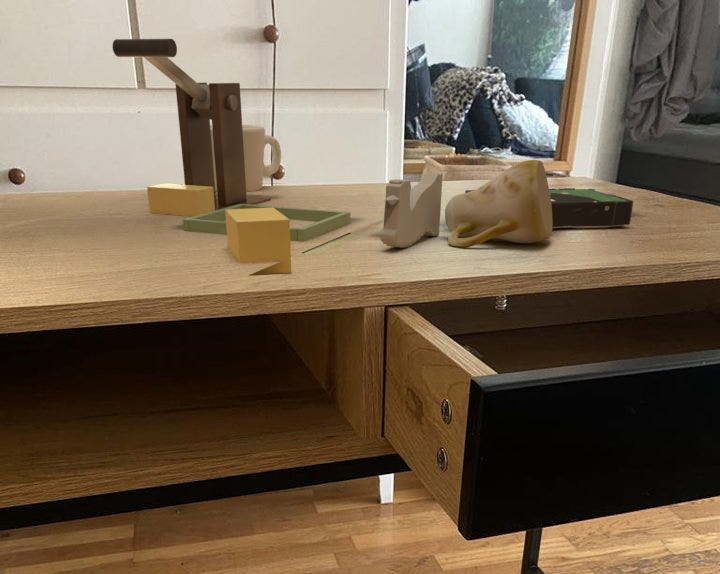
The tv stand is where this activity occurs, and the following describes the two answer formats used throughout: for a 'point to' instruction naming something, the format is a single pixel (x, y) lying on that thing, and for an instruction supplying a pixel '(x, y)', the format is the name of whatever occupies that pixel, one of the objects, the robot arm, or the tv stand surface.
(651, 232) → the tv stand surface
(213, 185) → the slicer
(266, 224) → the butter pat
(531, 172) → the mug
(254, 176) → the cup
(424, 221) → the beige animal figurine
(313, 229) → the dish
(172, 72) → the lever
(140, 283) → the tv stand surface
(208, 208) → the butter block
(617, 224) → the disk drive
